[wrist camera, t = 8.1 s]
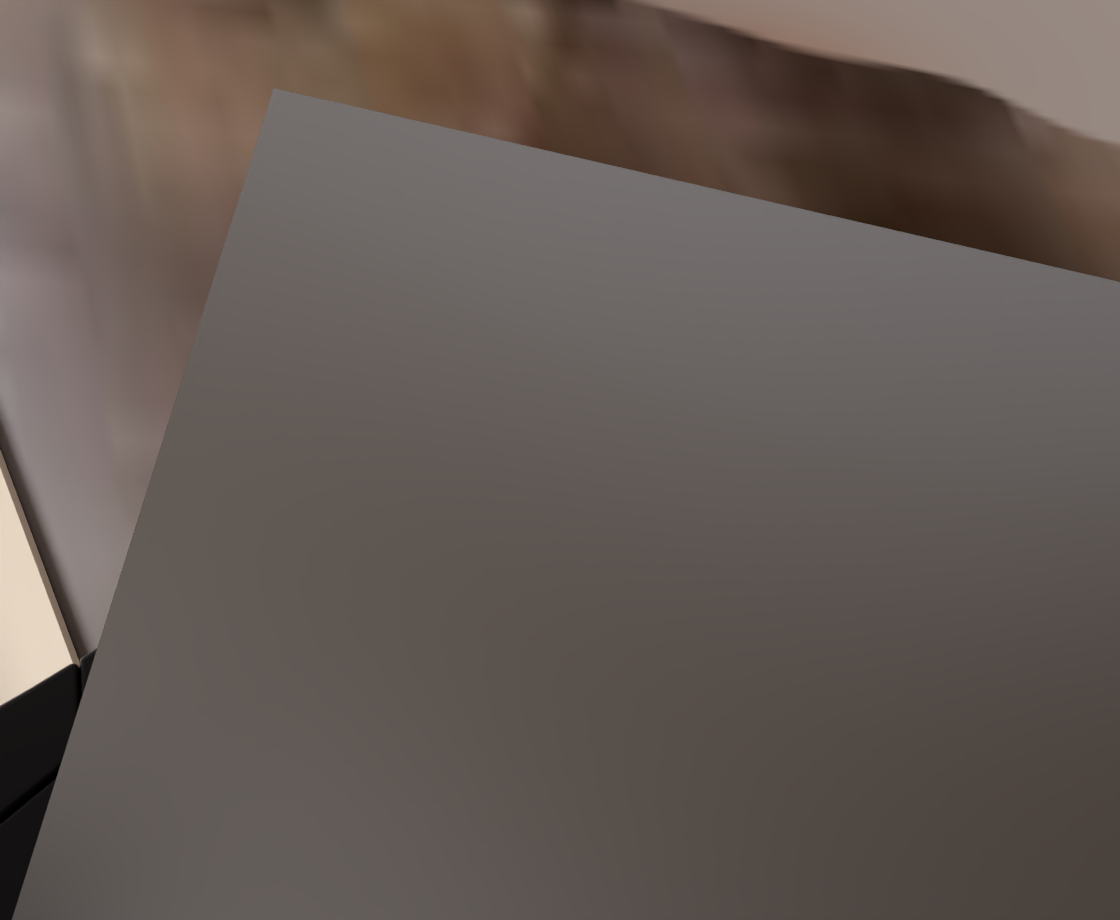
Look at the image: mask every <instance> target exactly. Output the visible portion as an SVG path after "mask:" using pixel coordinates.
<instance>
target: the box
mask: <svg viewBox="0 0 1120 920" xmlns="http://www.w3.org/2000/svg"><path fill="white" fill-rule="evenodd" d="M12 920H1120V282H1118V281H1113V280H1109V279H1105V278H1100V277H1096V276H1092V275H1087V274H1083V273H1078V272H1074V271H1070V270H1065V269H1061V268H1057V267H1052V266H1048V265H1044V264H1039V263H1035V262H1030V261H1026V260H1022V259H1017V258H1013V257H1009V256H1004V255H1000V254H995V253H991V252H987V251H982V250H978V249H974V248H969V247H965V246H961V245H956V244H952V243H947V242H943V241H939V240H934V239H930V238H926V237H921V236H917V235H913V234H908V233H904V232H899V231H895V230H891V229H886V228H882V227H878V226H873V225H869V224H865V223H860V222H856V221H851V220H847V219H843V218H838V217H834V216H830V215H825V214H821V213H816V212H812V211H808V210H803V209H799V208H795V207H790V206H786V205H782V204H777V203H773V202H768V201H764V200H760V199H755V198H751V197H747V196H742V195H738V194H734V193H729V192H725V191H720V190H716V189H712V188H707V187H703V186H699V185H694V184H690V183H685V182H681V181H677V180H672V179H668V178H664V177H659V176H655V175H651V174H646V173H642V172H637V171H633V170H629V169H624V168H620V167H616V166H611V165H607V164H603V163H598V162H594V161H589V160H585V159H581V158H576V157H572V156H568V155H563V154H559V153H555V152H550V151H546V150H541V149H537V148H533V147H528V146H524V145H520V144H515V143H511V142H506V141H502V140H498V139H493V138H489V137H485V136H480V135H476V134H472V133H467V132H463V131H458V130H454V129H450V128H445V127H441V126H437V125H432V124H428V123H424V122H419V121H415V120H410V119H406V118H402V117H397V116H393V115H389V114H384V113H380V112H375V111H371V110H367V109H362V108H358V107H354V106H349V105H345V104H341V103H336V102H332V101H327V100H323V99H319V98H314V97H310V96H306V95H301V94H297V93H293V92H288V91H284V90H279V89H275V88H274V89H273V92H272V95H271V98H270V101H269V104H268V108H267V111H266V114H265V117H264V120H263V123H262V127H261V130H260V133H259V136H258V139H257V143H256V146H255V149H254V152H253V155H252V158H251V162H250V165H249V168H248V171H247V174H246V177H245V181H244V184H243V187H242V190H241V193H240V197H239V200H238V203H237V206H236V209H235V212H234V216H233V219H232V222H231V225H230V228H229V231H228V235H227V238H226V241H225V244H224V247H223V251H222V254H221V257H220V260H219V263H218V266H217V270H216V273H215V276H214V279H213V282H212V285H211V289H210V292H209V295H208V298H207V301H206V305H205V308H204V311H203V314H202V317H201V320H200V324H199V327H198V330H197V333H196V336H195V339H194V343H193V346H192V349H191V352H190V355H189V359H188V362H187V365H186V368H185V371H184V374H183V378H182V381H181V384H180V387H179V390H178V394H177V397H176V400H175V403H174V406H173V409H172V413H171V416H170V419H169V422H168V425H167V428H166V432H165V435H164V438H163V441H162V444H161V448H160V451H159V454H158V457H157V460H156V463H155V467H154V470H153V473H152V476H151V479H150V482H149V486H148V489H147V492H146V495H145V498H144V502H143V505H142V508H141V511H140V514H139V517H138V521H137V524H136V527H135V530H134V533H133V536H132V540H131V543H130V546H129V549H128V552H127V556H126V559H125V562H124V565H123V568H122V571H121V575H120V578H119V581H118V584H117V587H116V591H115V594H114V597H113V600H112V603H111V606H110V610H109V613H108V616H107V619H106V622H105V625H104V629H103V632H102V635H101V638H100V641H99V645H98V648H97V651H96V654H95V657H94V660H93V664H92V667H91V670H90V673H89V676H88V679H87V683H86V686H85V689H84V692H83V695H82V699H81V702H80V705H79V708H78V711H77V714H76V718H75V721H74V724H73V727H72V730H71V733H70V737H69V740H68V743H67V746H66V749H65V753H64V756H63V759H62V762H61V765H60V768H59V772H58V775H57V778H56V781H55V784H54V787H53V791H52V794H51V797H50V800H49V803H48V807H47V810H46V813H45V816H44V819H43V822H42V826H41V829H40V832H39V835H38V838H37V841H36V845H35V848H34V851H33V854H32V857H31V861H30V864H29V867H28V870H27V873H26V876H25V880H24V883H23V886H22V889H21V892H20V896H19V899H18V902H17V905H16V908H15V911H14V915H13V918H12Z"/></svg>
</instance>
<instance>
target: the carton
mask: <svg viewBox="0 0 1120 920" xmlns="http://www.w3.org/2000/svg"><path fill="white" fill-rule="evenodd" d="M73 663H74V664H77V665H78V666H79V659H78V657H77V654H76V651H75V649H74V646H73V643H72V641H71V638H70V635H69V633H68V630H67V627H66V624H65V622H64V619H63V616H62V614H61V611H60V608H59V606H58V603H57V600H56V598H55V595H54V592H53V590H52V587H51V584H50V582H49V579H48V576H47V573H46V571H45V568H44V565H43V563H42V560H41V557H40V555H39V552H38V549H37V547H36V544H35V541H34V539H33V536H32V533H31V531H30V528H29V525H28V522H27V520H26V517H25V514H24V512H23V509H22V506H21V504H20V501H19V498H18V496H17V493H16V490H15V488H14V485H13V482H12V480H11V477H10V474H9V471H8V469H7V466H6V463H5V461H4V458H3V455H2V453H1V450H0V705H2V704H4V703H5V702H7V701H9V700H11V699H12V698H14V697H16V696H18V695H19V694H21V693H23V692H24V691H26V690H28V689H30V688H31V687H33V686H35V685H36V684H38V683H40V682H41V681H43V680H45V679H46V678H48V677H50V676H51V675H53V674H54V673H56V672H58V671H59V670H61V669H63V668H64V667H66V666H68V665H69V664H73Z"/></svg>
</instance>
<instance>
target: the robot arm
mask: <svg viewBox="0 0 1120 920" xmlns="http://www.w3.org/2000/svg"><path fill="white" fill-rule="evenodd" d="M96 651H97V648H96V649H95V650H93V651H91V652H90V653H88V654H86V655H85V656H83V657H82V658H81V659H80V661H79V666H78V665H77V664H74V663H73V664H69V665H68V666H66V667H64V668H63V669H61V670H59V671H58V672H56V673H54V674H53V675H51V676H50V677H48V678H46V679H45V680H43V681H41V682H40V683H38V684H36V685H35V686H33V687H31V688H30V689H28V690H26V691H24V692H23V693H21V694H19V695H18V696H16V697H14V698H12V699H11V700H9V701H7V702H5V703H4V704H2V705H0V920H12V918H13V915H14V911H15V908H16V905H17V902H18V899H19V896H20V892H21V889H22V886H23V883H24V880H25V876H26V873H27V870H28V867H29V864H30V861H31V857H32V854H33V851H34V848H35V845H36V841H37V838H38V835H39V832H40V829H41V826H42V822H43V819H44V816H45V813H46V810H47V807H48V803H49V800H50V797H51V794H52V791H53V787H54V784H55V781H56V778H57V775H58V772H59V768H60V765H61V762H62V759H63V756H64V753H65V749H66V746H67V743H68V740H69V737H70V733H71V730H72V727H73V724H74V721H75V718H76V714H77V711H78V708H79V705H80V702H81V699H82V695H83V692H84V689H85V686H86V683H87V679H88V676H89V673H90V670H91V667H92V664H93V660H94V657H95V654H96Z"/></svg>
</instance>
